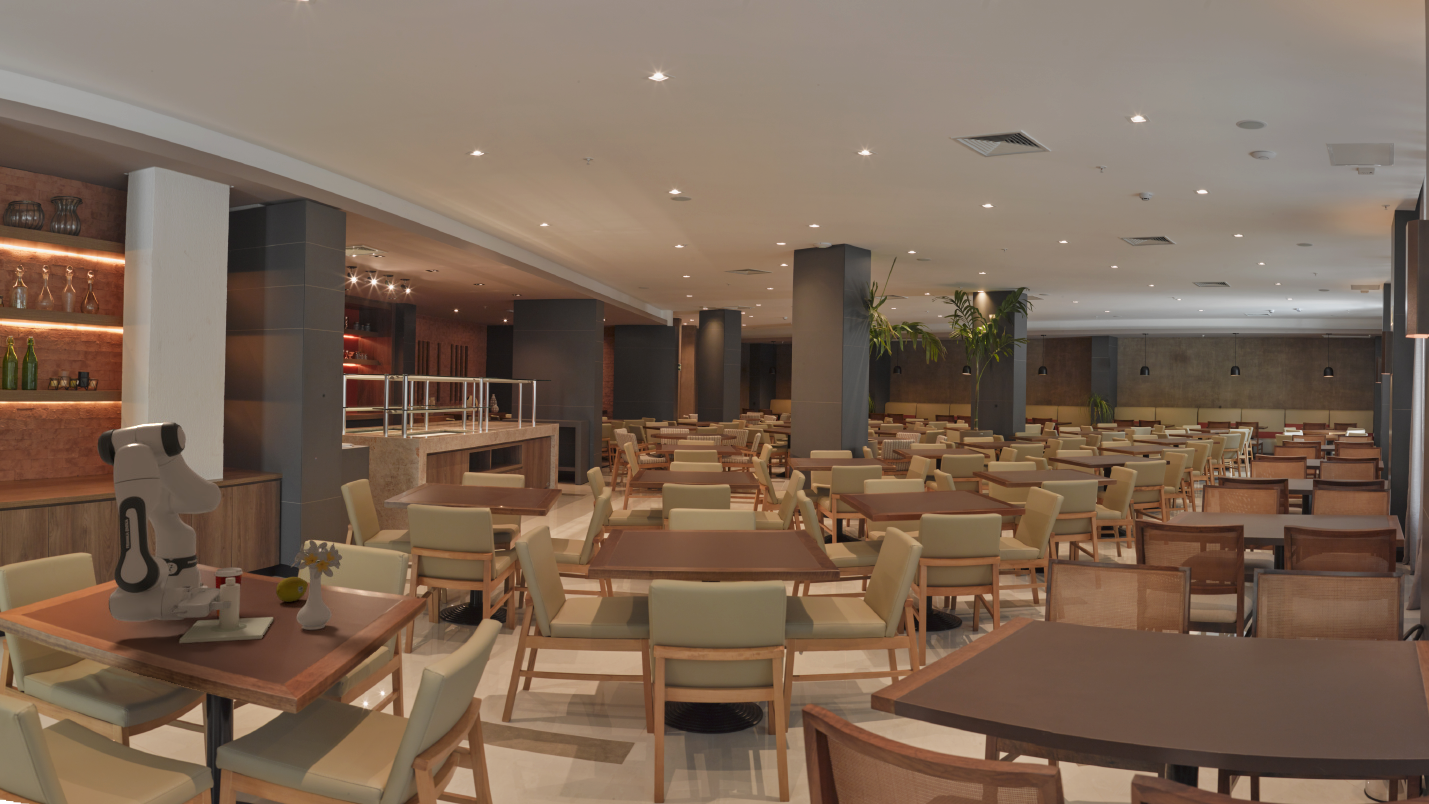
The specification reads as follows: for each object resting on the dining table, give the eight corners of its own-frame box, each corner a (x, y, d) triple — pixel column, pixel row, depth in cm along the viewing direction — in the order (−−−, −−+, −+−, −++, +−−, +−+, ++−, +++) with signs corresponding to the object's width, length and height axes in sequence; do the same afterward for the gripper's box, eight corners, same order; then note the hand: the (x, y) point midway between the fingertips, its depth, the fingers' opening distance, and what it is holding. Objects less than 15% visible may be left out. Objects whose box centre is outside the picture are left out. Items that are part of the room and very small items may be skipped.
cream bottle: (220, 625, 247) (222, 576, 247) (240, 624, 248) (242, 576, 248) (216, 629, 242) (218, 580, 242) (236, 628, 244) (238, 579, 244)
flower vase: (306, 638, 241) (309, 549, 241) (280, 625, 253) (283, 540, 253) (352, 630, 250) (354, 545, 250) (325, 617, 263) (327, 536, 263)
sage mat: (197, 623, 251) (197, 619, 251) (273, 620, 258) (273, 616, 258) (179, 643, 232) (179, 638, 232) (261, 638, 239) (261, 634, 239)
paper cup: (247, 612, 265) (248, 567, 265) (230, 619, 258) (232, 572, 258) (223, 611, 266) (225, 566, 266) (206, 617, 258) (208, 571, 258)
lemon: (281, 606, 275) (282, 581, 274) (269, 602, 279) (270, 577, 279) (314, 600, 283) (314, 576, 283) (301, 596, 288) (302, 572, 288)
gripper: (167, 601, 231) (225, 599, 236) (187, 584, 250) (240, 582, 255) (167, 624, 231) (224, 621, 236) (186, 606, 250) (239, 604, 255)
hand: (233, 601), depth 245 cm, fingers open, 5 cm apart
